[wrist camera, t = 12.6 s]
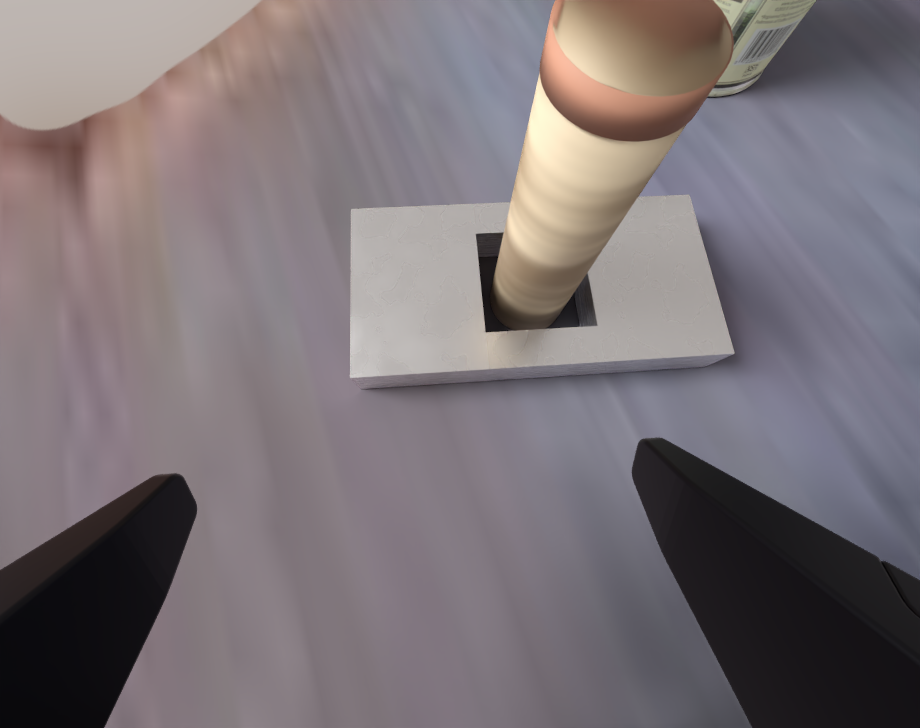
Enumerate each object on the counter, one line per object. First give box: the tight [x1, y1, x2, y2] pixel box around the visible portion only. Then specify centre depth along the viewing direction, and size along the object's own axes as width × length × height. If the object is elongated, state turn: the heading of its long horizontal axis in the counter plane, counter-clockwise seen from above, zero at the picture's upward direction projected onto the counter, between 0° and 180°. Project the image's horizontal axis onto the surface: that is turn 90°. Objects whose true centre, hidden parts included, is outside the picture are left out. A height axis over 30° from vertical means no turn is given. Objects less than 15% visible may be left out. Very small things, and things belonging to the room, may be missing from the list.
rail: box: [350, 195, 735, 389], centre depth 23 cm, size 10×20×2 cm, turn 94°
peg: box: [490, 0, 734, 331], centre depth 17 cm, size 4×4×15 cm
